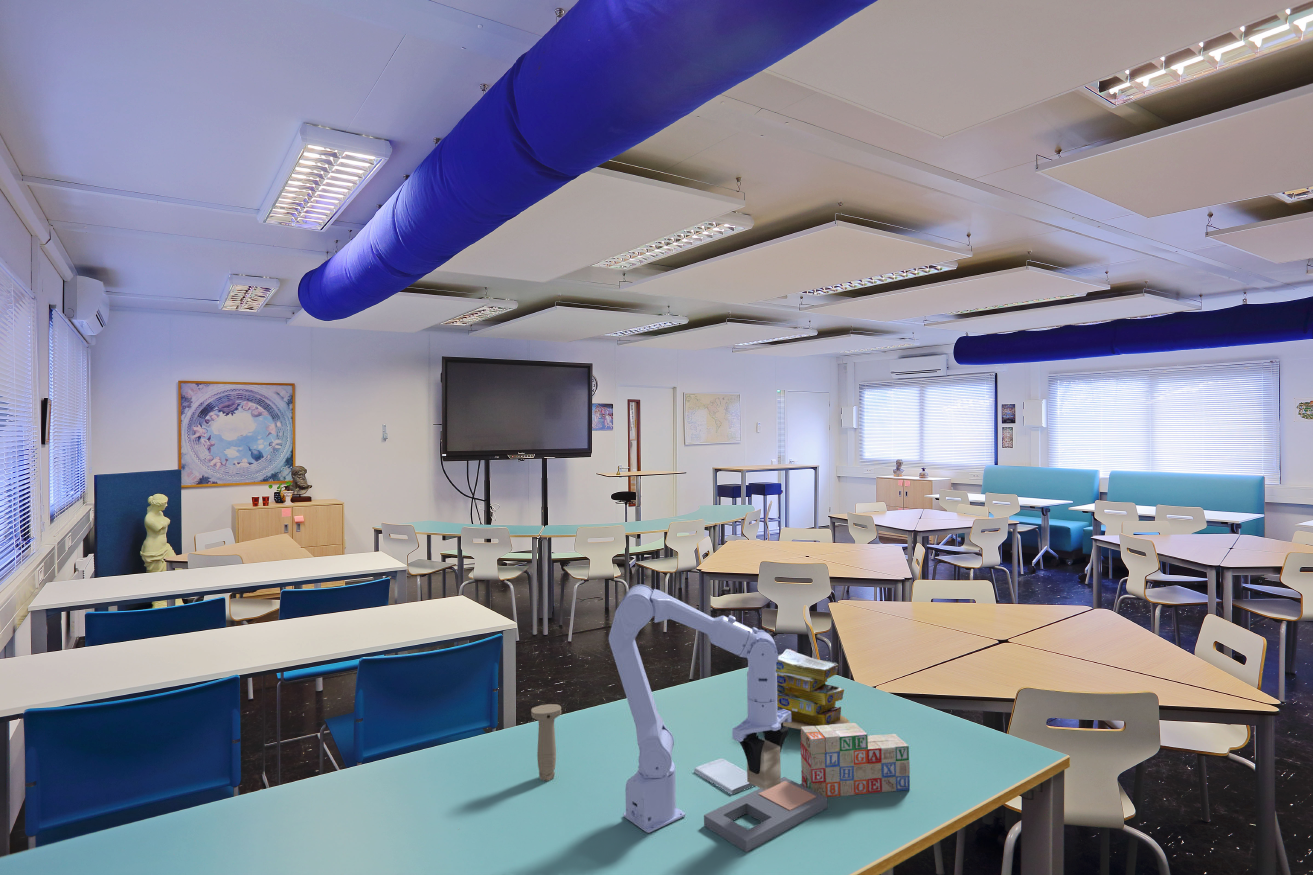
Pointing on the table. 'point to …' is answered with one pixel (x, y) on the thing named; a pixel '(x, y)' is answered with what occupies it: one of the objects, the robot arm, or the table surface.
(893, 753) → the stack of blocks
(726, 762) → the hard drive
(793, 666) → the stack of yellow boxes
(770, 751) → the maple block
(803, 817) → the kitting board
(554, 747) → the handle
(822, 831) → the table surface
